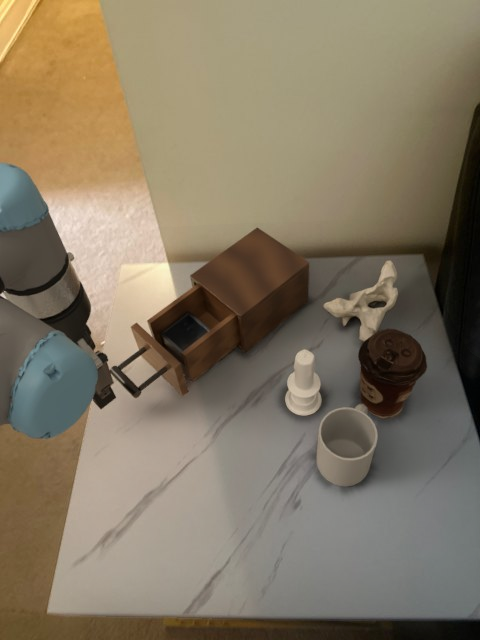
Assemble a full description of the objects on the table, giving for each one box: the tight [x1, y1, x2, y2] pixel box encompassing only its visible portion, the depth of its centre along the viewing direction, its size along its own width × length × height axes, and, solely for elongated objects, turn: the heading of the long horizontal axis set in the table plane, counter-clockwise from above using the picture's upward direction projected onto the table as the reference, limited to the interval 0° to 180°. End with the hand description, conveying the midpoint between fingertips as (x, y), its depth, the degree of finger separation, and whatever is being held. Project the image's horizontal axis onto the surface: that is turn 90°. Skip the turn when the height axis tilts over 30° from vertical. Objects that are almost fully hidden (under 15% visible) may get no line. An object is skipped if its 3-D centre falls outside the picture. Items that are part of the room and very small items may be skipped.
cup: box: [316, 403, 379, 487], centre depth 74 cm, size 7×10×9 cm
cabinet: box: [189, 226, 310, 354], centre depth 91 cm, size 15×12×10 cm
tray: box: [159, 311, 211, 367], centre depth 87 cm, size 6×7×4 cm
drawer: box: [109, 284, 241, 399], centre depth 85 cm, size 20×10×8 cm, turn 133°
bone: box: [323, 260, 399, 343], centre depth 89 cm, size 9×14×8 cm, turn 142°
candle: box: [284, 348, 323, 417], centre depth 78 cm, size 5×5×12 cm
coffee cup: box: [357, 328, 428, 419], centre depth 77 cm, size 9×8×13 cm
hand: (105, 400), depth 80 cm, fingers closed
